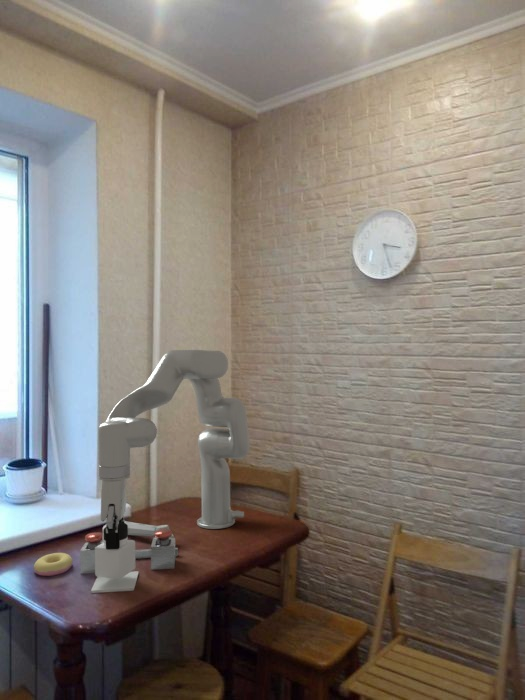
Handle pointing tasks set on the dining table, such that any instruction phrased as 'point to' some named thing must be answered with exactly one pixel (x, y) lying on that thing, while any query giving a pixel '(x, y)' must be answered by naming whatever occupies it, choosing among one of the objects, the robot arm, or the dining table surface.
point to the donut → (53, 564)
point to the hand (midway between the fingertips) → (115, 542)
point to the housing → (136, 556)
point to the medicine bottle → (115, 556)
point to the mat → (115, 583)
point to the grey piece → (144, 529)
